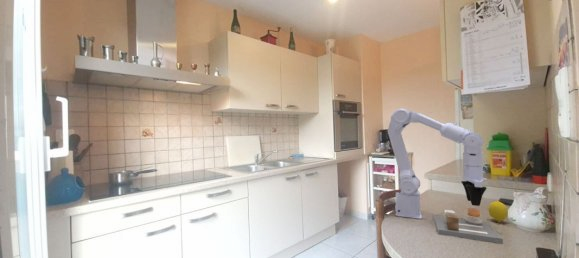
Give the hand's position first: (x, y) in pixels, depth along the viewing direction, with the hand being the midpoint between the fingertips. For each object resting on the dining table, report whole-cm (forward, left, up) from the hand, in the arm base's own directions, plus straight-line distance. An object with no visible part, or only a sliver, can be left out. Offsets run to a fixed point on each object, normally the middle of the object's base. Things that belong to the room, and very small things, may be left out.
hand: (473, 203), depth 88 cm
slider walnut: (-8, -10, -7) cm, 14 cm away
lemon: (+10, +9, -9) cm, 16 cm away
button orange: (0, 0, -4) cm, 4 cm away
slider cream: (-8, -4, -7) cm, 11 cm away
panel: (-4, -5, -8) cm, 11 cm away
